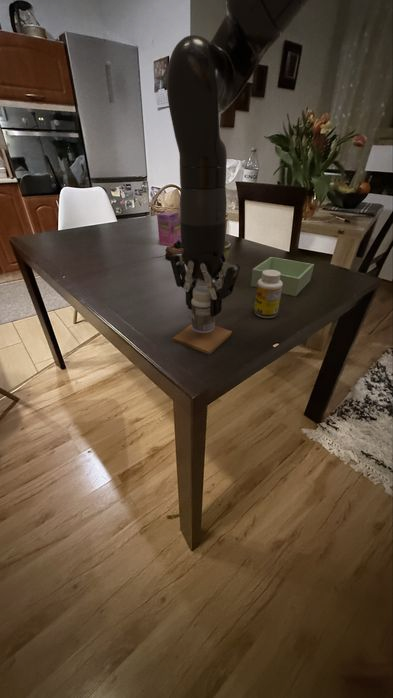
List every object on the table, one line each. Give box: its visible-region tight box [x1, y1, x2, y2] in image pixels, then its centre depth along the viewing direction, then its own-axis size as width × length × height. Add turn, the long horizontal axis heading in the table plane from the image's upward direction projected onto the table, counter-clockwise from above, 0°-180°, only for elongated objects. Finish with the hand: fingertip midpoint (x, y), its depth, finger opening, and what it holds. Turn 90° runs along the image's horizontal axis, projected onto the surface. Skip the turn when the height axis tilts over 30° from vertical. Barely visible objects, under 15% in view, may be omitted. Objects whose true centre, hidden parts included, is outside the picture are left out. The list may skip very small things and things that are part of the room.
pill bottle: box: [191, 285, 216, 333], centre depth 56 cm, size 5×5×8 cm
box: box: [156, 209, 181, 247], centre depth 118 cm, size 10×6×12 cm, turn 155°
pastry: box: [164, 240, 184, 261], centre depth 102 cm, size 11×12×6 cm
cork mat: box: [172, 323, 233, 356], centre depth 59 cm, size 9×9×1 cm
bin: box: [250, 256, 315, 297], centre depth 81 cm, size 13×13×5 cm
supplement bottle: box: [253, 270, 283, 319], centre depth 65 cm, size 6×6×10 cm
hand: (203, 310), depth 56 cm, fingers closed on pill bottle, 4 cm apart
